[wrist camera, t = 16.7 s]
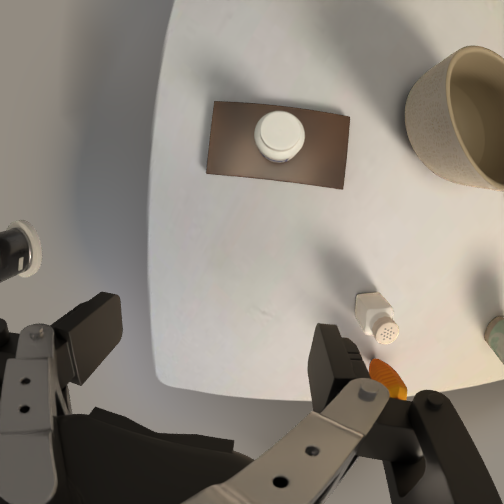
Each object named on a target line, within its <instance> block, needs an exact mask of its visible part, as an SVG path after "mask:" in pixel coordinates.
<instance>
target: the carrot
mask: <svg viewBox="0 0 504 504" xmlns="http://www.w3.org/2000/svg"><path fill="white" fill-rule="evenodd" d="M369 375H370V377H371V379H373V380H375V381H378V382H380V383H381V384H383V385H384V386H385V387H386V388H387V389H388V391H389V394H390V397H391V398H395V399H400V400H405V401H406V398H407V387H406V386H405V384H404V382H403V381H402V379H401V378H400V376H399V375H398V373H397V372H396V371H395V370H394V369H393V368H392V367H391V366H389V365H388V364H387V363H385V362H383V361H381V360H379V359H376V358H375V359H372V361H371V363H370V366H369Z"/></svg>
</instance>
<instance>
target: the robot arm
mask: <svg viewBox="0 0 504 504" xmlns="http://www.w3.org/2000/svg"><path fill="white" fill-rule="evenodd" d="M32 261H33V250H32V245H31V242H30V239H29V237H28V235H27V234H26V233H25V231H24V230H22V229H21V228H18V227H16V228H12V229H10V230H7V231H3V232H0V283H1V282H3V281H5V280H7V279H9V278H11V277H13V276H15V275H18V274H20V273H23V272H25V271H27V270H29V268H30V267H31V265H32ZM122 332H123V327H122V315H121V301H120V297H119V296H118V295H116V294H111V293H106V292H100V293H99V294H97V295H96V296H95V297H93V298H92V299H91V300H89V301H87V302H84V303H81V304H79V305H78V306H76V307H75V308H74V309H73V310H71V311H69V312H68V313H67V314H65V315H64V316H63V317H61V318H60V319H58V320H57V321H56V322H54V323H53V324H52V325H50V326H49V325H46V324H33V325H29V326H27V327H25V328H24V329H23V330H22V331H21V332H20V334H17V333H10V332H9V331H8V327H7V323H6V321H5V320H3V319H1V318H0V504H324V503H325V502H326V500H327V499H328V498H329V496H330V495H331V494H332V492H333V491H334V490H335V489H336V487H337V486H338V485H339V483H340V482H341V481H342V479H343V478H344V477H345V476H346V474H347V473H348V472H349V470H350V469H351V468H352V466H353V465H354V463H355V462H356V461H357V459H358V457H359V456H362V457H367V458H372V459H378V460H382V461H383V465H384V470H385V474H386V479H387V483H388V488H389V492H390V498H391V503H392V504H503V503H502V501H501V498H500V496H499V494H498V492H497V489H496V487H495V485H494V483H493V481H492V478H491V476H490V474H489V472H488V470H487V468H486V466H485V464H484V462H483V460H482V458H481V456H480V454H479V452H478V450H477V448H476V446H475V444H474V442H473V441H472V438H471V437H470V435H469V433H468V431H467V429H466V427H465V426H464V424H463V422H462V420H461V418H460V417H459V415H458V413H457V412H456V410H455V408H454V406H453V405H452V403H451V401H450V400H449V399H448V398H447V397H446V396H445V395H443V394H442V393H440V392H437V391H433V390H423V391H420V392H418V393H417V394H416V395H415V397H414V399H413V401H412V402H411V401H405V400H400V399H395V398H391V397H390V394H389V391H388V389H387V388H386V387H385V386H384V385H383V384H381V383H380V382H378V381H375V380H373V379H371V377H370V375H369V372H368V370H367V368H366V366H365V363H364V361H362V357H361V355H360V352H359V350H358V348H357V346H356V344H354V343H353V342H352V341H351V340H350V339H349V338H342V337H341V335H340V332H339V330H338V327H337V325H331V324H319V323H318V324H317V325H316V328H315V332H314V337H313V341H312V346H311V350H310V355H309V359H308V377H309V384H310V390H311V397H312V404H313V411H312V412H310V413H309V414H308V415H307V416H306V417H305V418H304V419H303V420H301V421H300V422H299V423H298V424H297V425H296V426H295V427H294V428H293V429H291V430H290V431H289V432H288V433H287V434H286V435H285V436H284V437H282V438H281V439H280V440H279V441H278V442H276V443H275V444H274V445H273V446H272V447H270V448H269V449H268V450H267V451H266V452H264V453H263V454H262V455H261V456H259V457H258V458H257V459H256V460H254V459H251V458H250V457H248V456H246V455H243V454H241V453H239V452H236V451H233V447H234V440H228V439H221V438H215V437H209V436H203V435H197V434H167V433H157V432H154V431H151V430H150V429H148V428H146V427H143V426H142V425H140V424H138V423H136V422H134V421H132V420H130V419H129V418H127V417H124V416H122V415H118V414H115V413H112V412H109V411H106V410H103V409H100V408H97V407H95V408H94V409H93V410H92V412H91V413H90V414H89V415H85V414H72V409H71V403H70V395H69V389H68V386H67V384H68V383H69V382H72V383H75V384H77V385H80V386H82V384H83V383H84V382H85V381H86V380H87V379H88V378H89V376H90V375H91V374H92V373H93V372H94V371H95V369H96V368H97V367H98V366H99V365H100V364H101V362H102V361H103V360H104V359H105V358H106V357H107V356H108V354H109V353H110V352H111V351H112V350H113V349H114V348H115V346H116V345H117V344H118V343H119V342H120V340H121V337H122Z"/></svg>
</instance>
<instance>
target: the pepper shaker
mask: <svg viewBox="0 0 504 504" xmlns="http://www.w3.org/2000/svg"><path fill="white" fill-rule="evenodd" d="M393 312H394V311H393V308H392V306H391V305H390V304H389V303H388V302H387V300H386V299H385V298H384V297H383V296H382V295H381V294H380V293H378V292H377V293H364V294H358V295H357V297H356V307H355V317H356V319H357V321H358V322H359V324H360V326H361V328H362V330H363V331H364V333H365V334H366V335H374V337H375V339H376V340H377V341H378V342H379V343H380V344H389V343H391V342H393V341H394V340H395V339H396V338H397V336H398V333H399V328H398V326H397V324H396V323H395V322H394V320H393Z"/></svg>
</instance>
